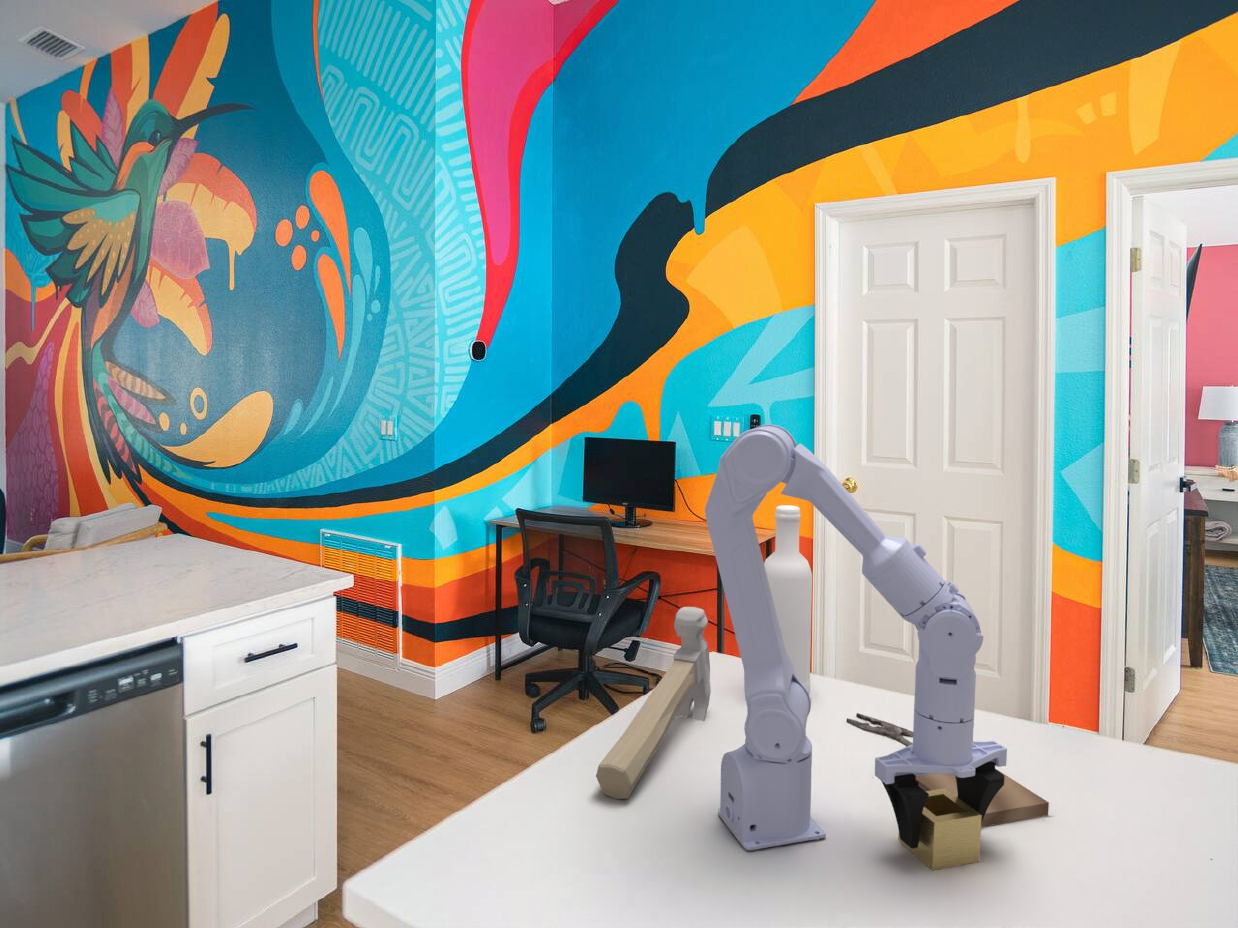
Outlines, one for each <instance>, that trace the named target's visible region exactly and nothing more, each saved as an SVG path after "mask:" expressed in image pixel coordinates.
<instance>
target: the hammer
mask: <svg viewBox="0 0 1238 928" xmlns="http://www.w3.org/2000/svg"><path fill="white" fill-rule="evenodd" d="M674 618H675V619H674V623H673V625H674V627H673V628H674V630H675V632H676V637H679V638H681V639H680V640H681V646H680V647H679V648H678V649H677V650H676V651H675V653H674V654H672V655H673V662H672V663H671V664H670V666H669V668H668V669H667V671H666V672H665V674H664V675H663V676H662V678H661V679H660V680H659V682H658V684H657V685H655V687H654V689H653V691H651V693H650V695H649V696H648V698H647V699H646V700H645V702H643V704H642V706H641V707H640V709H639V710H638V712H637V713H636V715H635V716H634V717H633V719H632V720H631V722H630V724H628V725H627V728H626V729H625V730H624V732H623V734H622V735H621V736H620V737H619V739H618V740H617V741H616V742H615V744H614V745H613V746H612V748H611V749H609V751H608V752H607V754H606V755H605V756H604V757H603V759H602V760H601V762H599V764H598V767H597V771H596V774H595V777H596V780H597V782H598V784H599V786H600V788H601V792H602V793H603V794H605V795H607V796H609V797H610V798H613V799H615V800H627V799H629V798H630V795H631V794H632V792H633V791H634V790H635V789H634V788H635V787H636V785H637V784H638V782H639V781H640V778H641V777H642V775H643V773H644V772H645V770H646V767H647V766H648V764H649V763H650V761H651V759H652V758H653V757H654V755H655V754H656V752H657V750H658V748H659V747H660V745H661V743H662V742H663V739H664V738H665V736H666V734H667V732H668V730H669V729H670V726H671V724H672V723H673V721H674V719H675V718H676V716H677V717H679V716H680V717H681V716H682V717H681V718H685V717H686V719H687V718H688V717H689V714H690V711H691V708H692V705H693V711H692V717H691V720H696V721H700V720H701V722H704V721H705V719H706V715H707V712H708V708H709V705H710V700H711V699H710V698H711V691H712V688H711V664H710V661H711V660H710V651H709V644H708V641H707V640H706V639H705V638H704V631H705V629H706V628H707V625H708V622H709V621H708V617H707V614H706V612H705V610H704V609H702V608H700V607H697V606H683V607H681V608H679V609H678V611H677V612H676V613H675V617H674Z"/></svg>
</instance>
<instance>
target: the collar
mask: <svg viewBox="0 0 1238 928" xmlns="http://www.w3.org/2000/svg"><path fill="white" fill-rule="evenodd" d="M926 792H927V793H928V794H929V796H928V798H927V800H926V802H925V805H924V808H923V812H922V816H921V824H920V839H919V844H918V847H917V848H913V849H912V848H910V847H909V846H908V845H907V844H906V843H904V842H903V841H902V840H901V839H900V835H899V834H898V841H899V842H900V843H901V844H902V845H903V846H905V847H906V848H907V849H908V850H909V851H910V852H911V853H912V854H914V855H915V856H916V858H918V859H919V860H920V861H922V863H923V864H925V865H926V866H927V867H928V868H929V869H930V870H932V871H937V870H942V869H946V868H954V867H958V866H962V865H967V864H974V863H978V862H980V859H981V858H980V856H981V838H982V836H981V834H982V827H981V817H982V815H981V814H980V813H978V812H977V811H976V810H974V809H973V808H972V807H970V806H969V805H967V804H966V803H965V802H963V801H962V800H961V799H959V798H958V797H956V796H955V795H954V794H952V793H951V792H950V791H948V790H947V789H945V788H943V789H937V790H930V791H926Z"/></svg>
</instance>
